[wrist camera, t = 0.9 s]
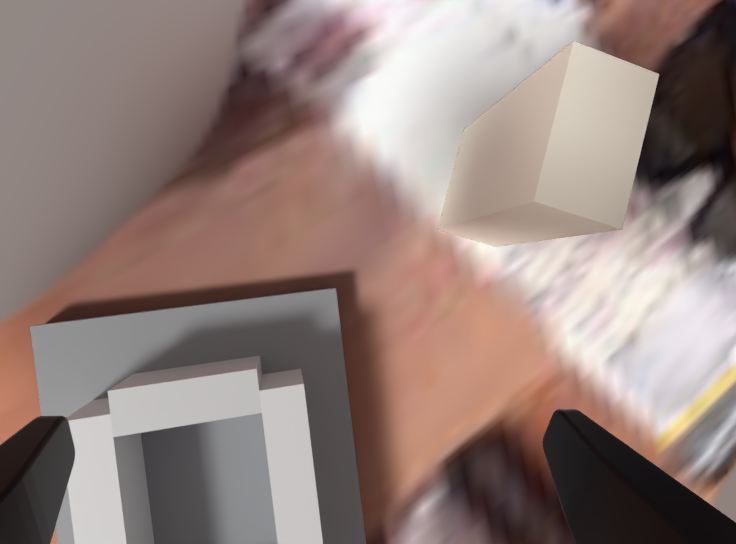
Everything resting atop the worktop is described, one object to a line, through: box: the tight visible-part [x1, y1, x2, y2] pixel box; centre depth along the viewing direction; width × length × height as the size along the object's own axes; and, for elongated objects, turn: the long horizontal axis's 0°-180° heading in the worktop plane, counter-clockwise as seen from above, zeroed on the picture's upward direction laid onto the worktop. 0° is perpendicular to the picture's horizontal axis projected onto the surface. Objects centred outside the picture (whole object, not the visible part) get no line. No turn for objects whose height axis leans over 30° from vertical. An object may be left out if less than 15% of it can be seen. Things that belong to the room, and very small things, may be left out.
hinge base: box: [30, 288, 366, 544], centre depth 19 cm, size 16×12×4 cm
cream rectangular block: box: [438, 41, 659, 247], centre depth 19 cm, size 6×3×9 cm, turn 165°
